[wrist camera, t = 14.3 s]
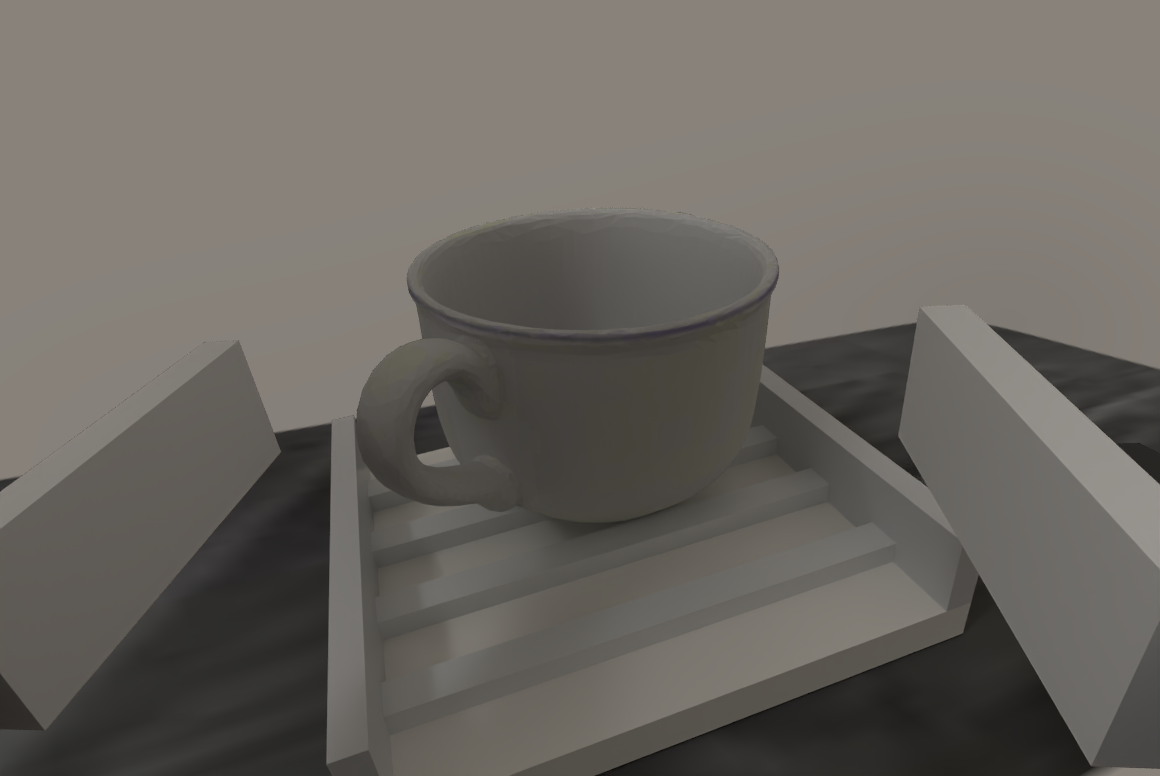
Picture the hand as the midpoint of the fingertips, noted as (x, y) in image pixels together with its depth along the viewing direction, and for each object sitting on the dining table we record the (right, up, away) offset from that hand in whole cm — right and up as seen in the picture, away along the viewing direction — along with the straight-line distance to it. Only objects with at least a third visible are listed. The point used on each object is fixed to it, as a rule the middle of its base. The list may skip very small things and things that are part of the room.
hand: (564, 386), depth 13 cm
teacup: (0, -4, +10) cm, 10 cm away
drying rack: (+1, -6, +9) cm, 11 cm away
